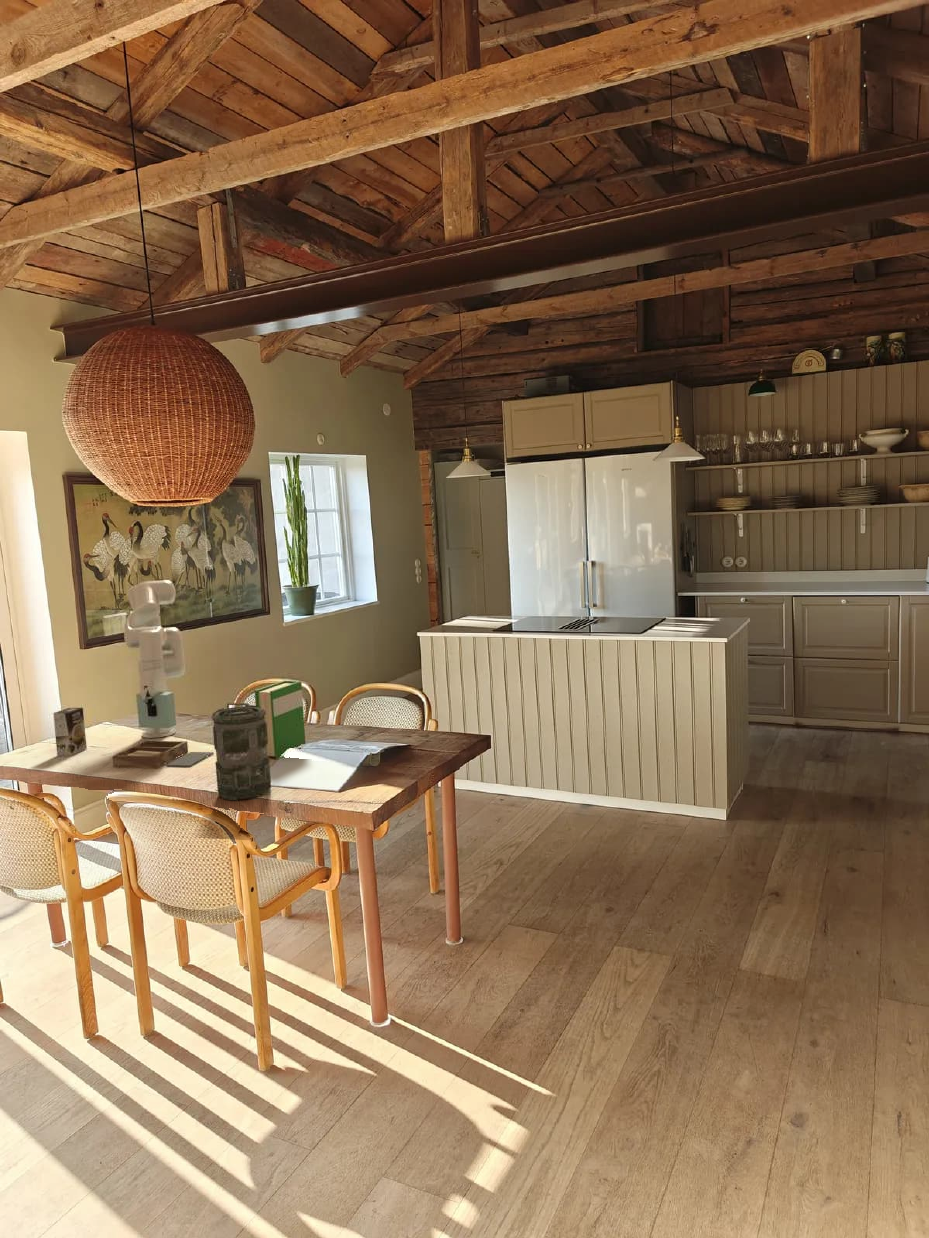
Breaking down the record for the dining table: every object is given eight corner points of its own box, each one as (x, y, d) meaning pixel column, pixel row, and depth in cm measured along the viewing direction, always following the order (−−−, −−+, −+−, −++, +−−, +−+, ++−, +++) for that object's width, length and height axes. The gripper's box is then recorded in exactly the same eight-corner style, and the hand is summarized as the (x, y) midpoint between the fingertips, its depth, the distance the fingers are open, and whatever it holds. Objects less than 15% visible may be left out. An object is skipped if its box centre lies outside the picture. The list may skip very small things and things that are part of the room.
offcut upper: (139, 755, 307) (138, 750, 307) (162, 757, 304) (161, 752, 304) (127, 760, 302) (126, 754, 301) (150, 762, 298) (150, 756, 298)
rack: (146, 751, 318) (145, 740, 318) (188, 752, 314) (187, 741, 314) (113, 767, 299) (111, 756, 298) (157, 768, 295) (156, 757, 294)
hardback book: (277, 759, 300) (272, 691, 297) (259, 757, 303) (254, 690, 300) (305, 745, 316) (301, 681, 313) (288, 744, 319) (284, 680, 316)
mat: (191, 753, 312) (190, 751, 312) (213, 753, 310) (213, 752, 310) (166, 766, 297) (166, 764, 297) (190, 767, 295) (190, 765, 295)
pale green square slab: (146, 723, 315) (143, 691, 313) (176, 724, 312) (173, 692, 310) (139, 727, 310) (136, 694, 308) (169, 728, 308) (166, 695, 306)
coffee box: (72, 756, 316) (67, 712, 314) (56, 755, 317) (52, 712, 315) (87, 749, 325) (83, 707, 323) (72, 748, 326) (68, 706, 324)
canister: (279, 785, 270) (273, 697, 267) (257, 802, 255) (250, 709, 252) (233, 784, 274) (226, 697, 270) (208, 800, 258) (201, 708, 255)
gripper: (156, 659, 317) (160, 708, 319) (128, 669, 300) (133, 720, 303) (174, 659, 315) (178, 708, 318) (148, 669, 299) (152, 720, 301)
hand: (156, 713), depth 310 cm, fingers closed on pale green square slab, 4 cm apart
